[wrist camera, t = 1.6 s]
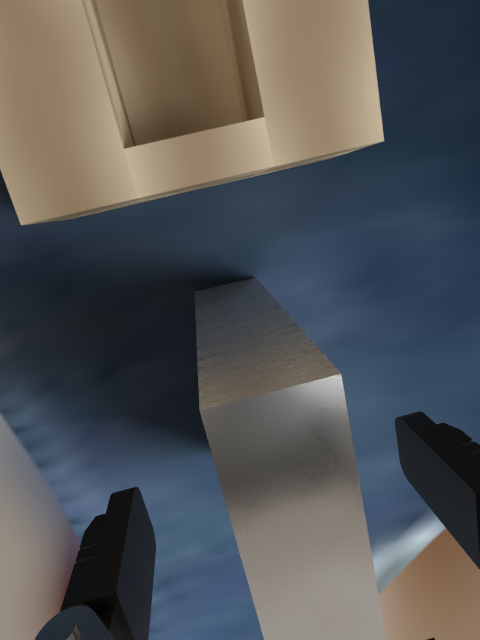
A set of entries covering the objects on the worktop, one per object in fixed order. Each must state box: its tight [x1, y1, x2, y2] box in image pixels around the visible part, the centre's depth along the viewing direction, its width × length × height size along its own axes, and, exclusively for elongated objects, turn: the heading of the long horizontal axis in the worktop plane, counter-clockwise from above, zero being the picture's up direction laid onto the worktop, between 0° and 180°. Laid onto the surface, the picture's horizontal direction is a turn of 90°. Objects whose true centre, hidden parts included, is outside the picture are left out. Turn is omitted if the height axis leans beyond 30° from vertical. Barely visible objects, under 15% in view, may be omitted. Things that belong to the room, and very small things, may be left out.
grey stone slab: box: [194, 277, 386, 640], centre depth 16 cm, size 3×9×12 cm, turn 13°
